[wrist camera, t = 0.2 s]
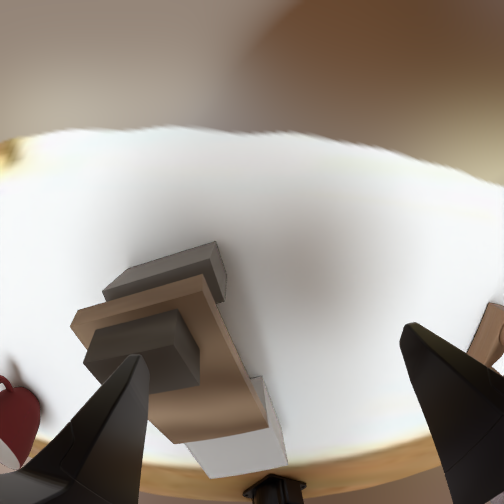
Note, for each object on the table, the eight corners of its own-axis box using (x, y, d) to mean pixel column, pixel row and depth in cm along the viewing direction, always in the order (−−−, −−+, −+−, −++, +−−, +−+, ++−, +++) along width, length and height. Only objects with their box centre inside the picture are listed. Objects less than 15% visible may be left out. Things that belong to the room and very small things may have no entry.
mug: (-9, 352, 26) (-53, 392, 16) (31, 360, 26) (-14, 409, 17) (20, 415, 28) (-11, 458, 19) (62, 426, 29) (32, 478, 19)
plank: (266, 412, 22) (274, 454, 18) (174, 429, 22) (173, 469, 19) (202, 273, 15) (201, 325, 12) (78, 310, 16) (55, 358, 12)
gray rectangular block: (281, 428, 29) (288, 464, 24) (212, 442, 29) (210, 478, 24) (215, 241, 24) (209, 258, 19) (127, 269, 24) (101, 291, 19)
